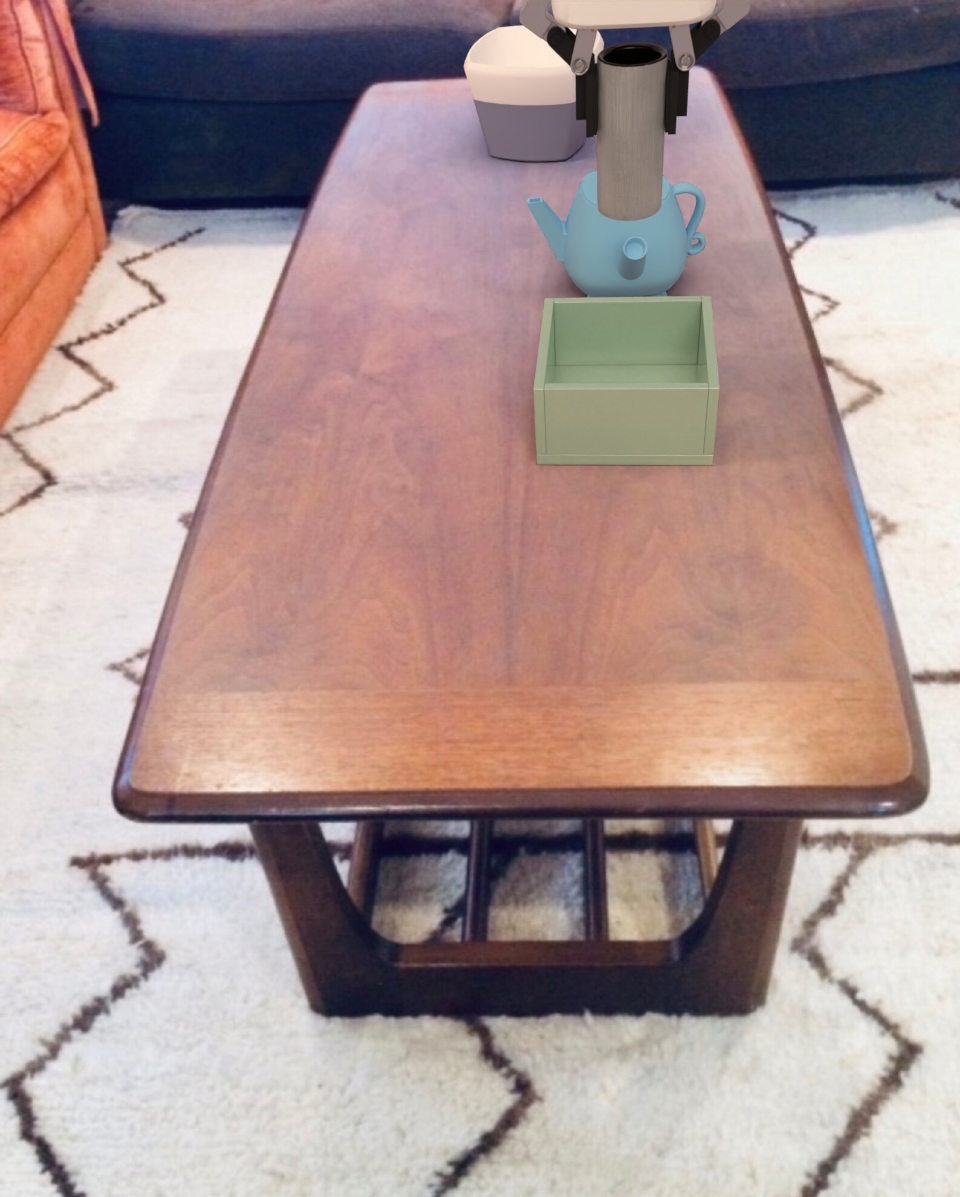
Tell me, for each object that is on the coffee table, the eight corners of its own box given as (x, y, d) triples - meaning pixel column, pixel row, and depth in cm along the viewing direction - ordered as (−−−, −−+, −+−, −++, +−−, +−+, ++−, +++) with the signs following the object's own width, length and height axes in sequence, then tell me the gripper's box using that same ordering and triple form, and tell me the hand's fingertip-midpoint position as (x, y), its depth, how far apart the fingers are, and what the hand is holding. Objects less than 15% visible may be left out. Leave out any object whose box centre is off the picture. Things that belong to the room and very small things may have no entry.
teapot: (514, 286, 107) (509, 172, 99) (610, 236, 113) (612, 125, 105) (632, 340, 98) (636, 219, 91) (729, 283, 105) (740, 165, 97)
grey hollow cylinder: (660, 193, 79) (667, 40, 72) (662, 221, 76) (668, 64, 69) (597, 194, 80) (597, 43, 73) (596, 222, 77) (596, 67, 69)
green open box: (705, 369, 94) (711, 295, 89) (712, 465, 84) (719, 388, 80) (547, 370, 96) (544, 297, 91) (536, 465, 86) (533, 389, 81)
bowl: (457, 166, 129) (449, 67, 121) (494, 117, 139) (488, 22, 132) (585, 173, 125) (585, 70, 117) (613, 122, 135) (614, 24, 128)
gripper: (481, -179, 60) (501, 154, 72) (799, -202, 58) (763, 146, 70) (494, -203, 65) (510, 112, 78) (786, -224, 63) (754, 103, 76)
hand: (630, 125), depth 74 cm, fingers closed on grey hollow cylinder, 4 cm apart
